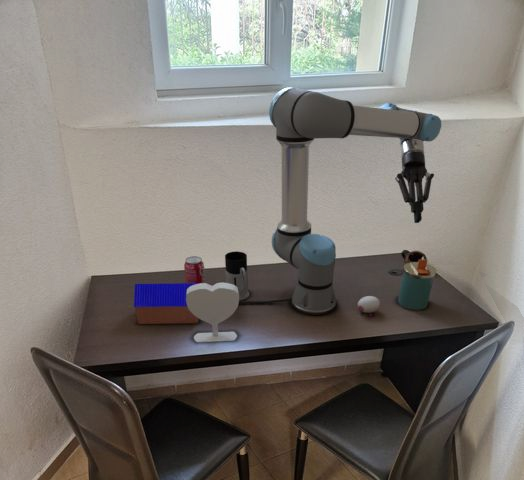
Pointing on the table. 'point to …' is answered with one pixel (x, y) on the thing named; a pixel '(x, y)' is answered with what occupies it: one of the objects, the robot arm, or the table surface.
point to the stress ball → (368, 304)
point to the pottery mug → (412, 256)
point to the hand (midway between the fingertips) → (418, 221)
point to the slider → (422, 267)
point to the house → (163, 303)
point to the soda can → (194, 270)
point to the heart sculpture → (213, 308)
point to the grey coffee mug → (237, 272)
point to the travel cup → (415, 286)
